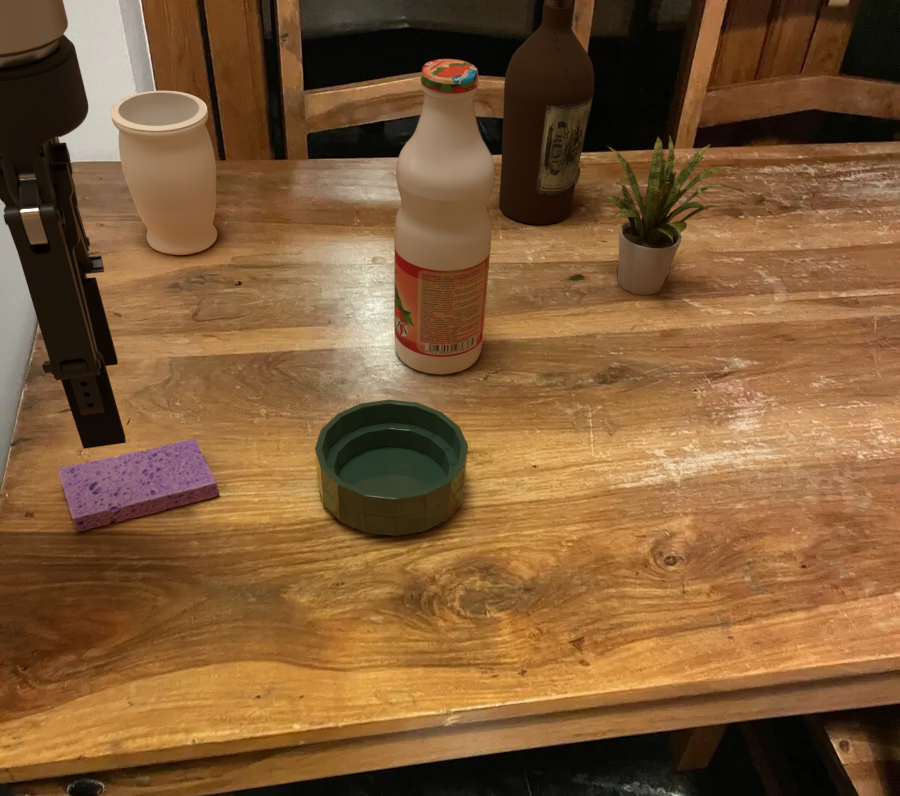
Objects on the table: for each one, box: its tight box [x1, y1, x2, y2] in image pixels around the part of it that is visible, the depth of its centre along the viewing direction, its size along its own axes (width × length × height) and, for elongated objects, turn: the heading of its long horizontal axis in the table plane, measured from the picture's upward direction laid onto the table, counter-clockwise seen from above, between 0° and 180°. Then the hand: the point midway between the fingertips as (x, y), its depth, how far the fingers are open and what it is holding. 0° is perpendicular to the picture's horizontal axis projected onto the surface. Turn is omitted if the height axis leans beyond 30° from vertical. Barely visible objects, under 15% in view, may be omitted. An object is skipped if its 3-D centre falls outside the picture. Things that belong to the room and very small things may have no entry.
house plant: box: [605, 134, 741, 296], centre depth 104 cm, size 14×14×16 cm
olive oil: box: [498, 0, 595, 226], centre depth 113 cm, size 11×11×25 cm
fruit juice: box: [393, 58, 496, 375], centre depth 90 cm, size 9×9×28 cm
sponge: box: [57, 437, 221, 532], centre depth 83 cm, size 7×13×2 cm, turn 114°
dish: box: [314, 399, 469, 537], centre depth 84 cm, size 13×13×5 cm
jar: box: [110, 90, 218, 256], centre depth 107 cm, size 11×10×15 cm
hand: (101, 401), depth 65 cm, fingers open, 8 cm apart
